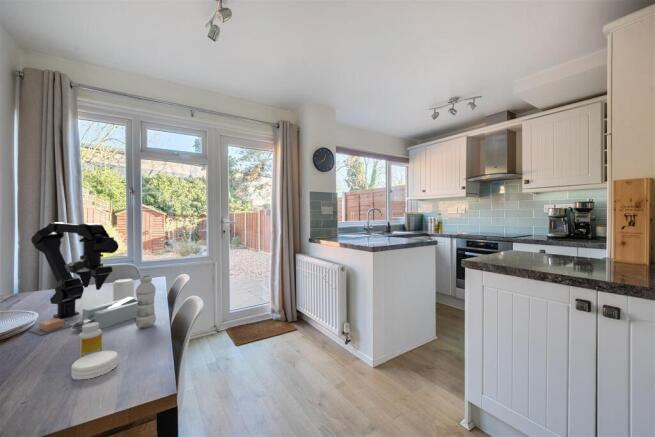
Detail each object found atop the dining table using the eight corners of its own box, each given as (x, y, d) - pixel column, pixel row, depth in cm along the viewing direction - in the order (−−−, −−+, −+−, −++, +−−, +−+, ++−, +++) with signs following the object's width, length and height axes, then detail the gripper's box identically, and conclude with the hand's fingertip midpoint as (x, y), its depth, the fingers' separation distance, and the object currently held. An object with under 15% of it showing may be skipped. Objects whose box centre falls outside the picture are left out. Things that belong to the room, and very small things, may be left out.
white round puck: (126, 363, 80) (126, 351, 79) (90, 383, 70) (90, 370, 70) (99, 359, 82) (100, 348, 82) (61, 378, 72) (61, 365, 72)
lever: (77, 330, 100) (76, 327, 100) (72, 328, 101) (71, 325, 101) (134, 299, 118) (133, 297, 118) (129, 298, 120) (128, 296, 119)
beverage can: (125, 307, 127) (125, 282, 127) (108, 307, 128) (108, 282, 128) (137, 302, 136) (137, 278, 136) (122, 301, 136) (122, 278, 136)
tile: (39, 328, 101) (39, 322, 101) (57, 324, 106) (57, 318, 106) (46, 331, 100) (46, 324, 100) (63, 326, 104) (64, 320, 104)
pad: (28, 331, 100) (28, 330, 100) (60, 322, 108) (60, 321, 108) (40, 335, 97) (40, 334, 97) (72, 326, 105) (72, 325, 105)
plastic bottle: (159, 325, 107) (159, 275, 107) (141, 331, 101) (142, 279, 101) (149, 322, 110) (149, 274, 110) (131, 328, 104) (132, 277, 104)
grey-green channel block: (99, 329, 103) (100, 313, 103) (82, 323, 108) (82, 309, 107) (146, 313, 119) (147, 300, 119) (130, 309, 124) (130, 297, 124)
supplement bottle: (105, 352, 85) (106, 322, 85) (85, 361, 80) (86, 329, 80) (94, 349, 87) (95, 320, 87) (74, 357, 82) (74, 326, 82)
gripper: (56, 253, 111) (55, 290, 111) (81, 256, 103) (80, 296, 103) (88, 250, 121) (88, 284, 121) (113, 252, 114) (113, 289, 114)
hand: (91, 288), depth 114 cm, fingers open, 9 cm apart
